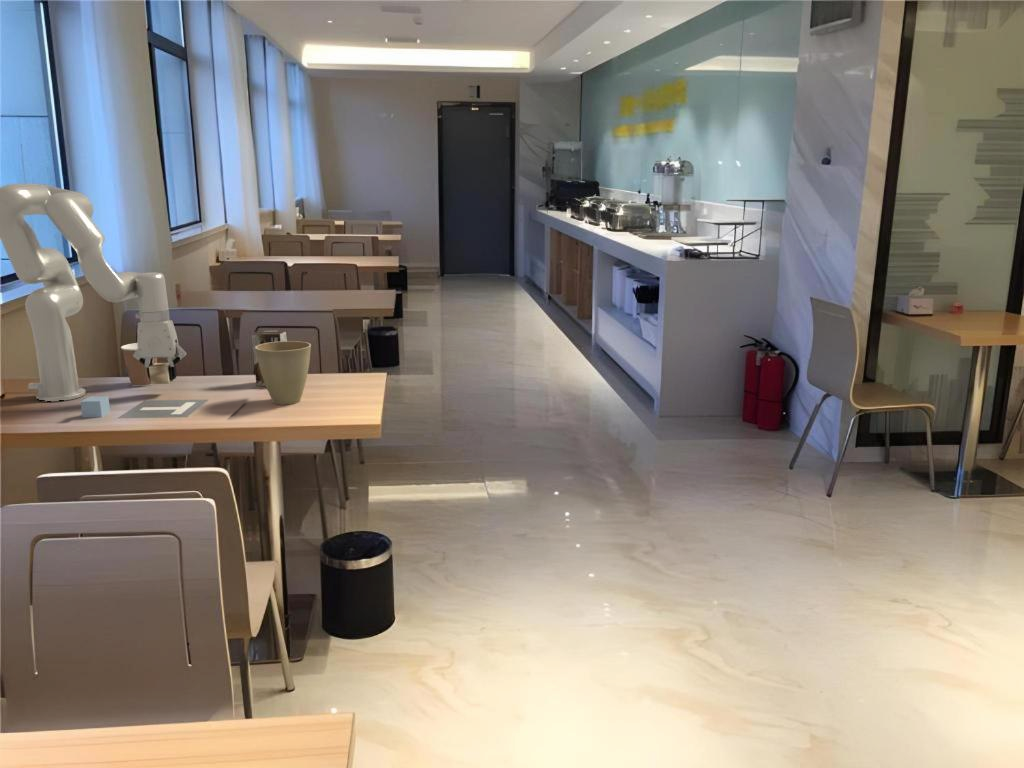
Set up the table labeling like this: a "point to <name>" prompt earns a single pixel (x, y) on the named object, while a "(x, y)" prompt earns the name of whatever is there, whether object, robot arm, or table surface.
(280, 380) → the plant pot
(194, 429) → the table surface
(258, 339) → the coffee box
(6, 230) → the robot arm
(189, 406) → the letter board
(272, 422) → the table surface
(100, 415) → the blue cube
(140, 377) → the coffee cup
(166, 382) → the wood block
